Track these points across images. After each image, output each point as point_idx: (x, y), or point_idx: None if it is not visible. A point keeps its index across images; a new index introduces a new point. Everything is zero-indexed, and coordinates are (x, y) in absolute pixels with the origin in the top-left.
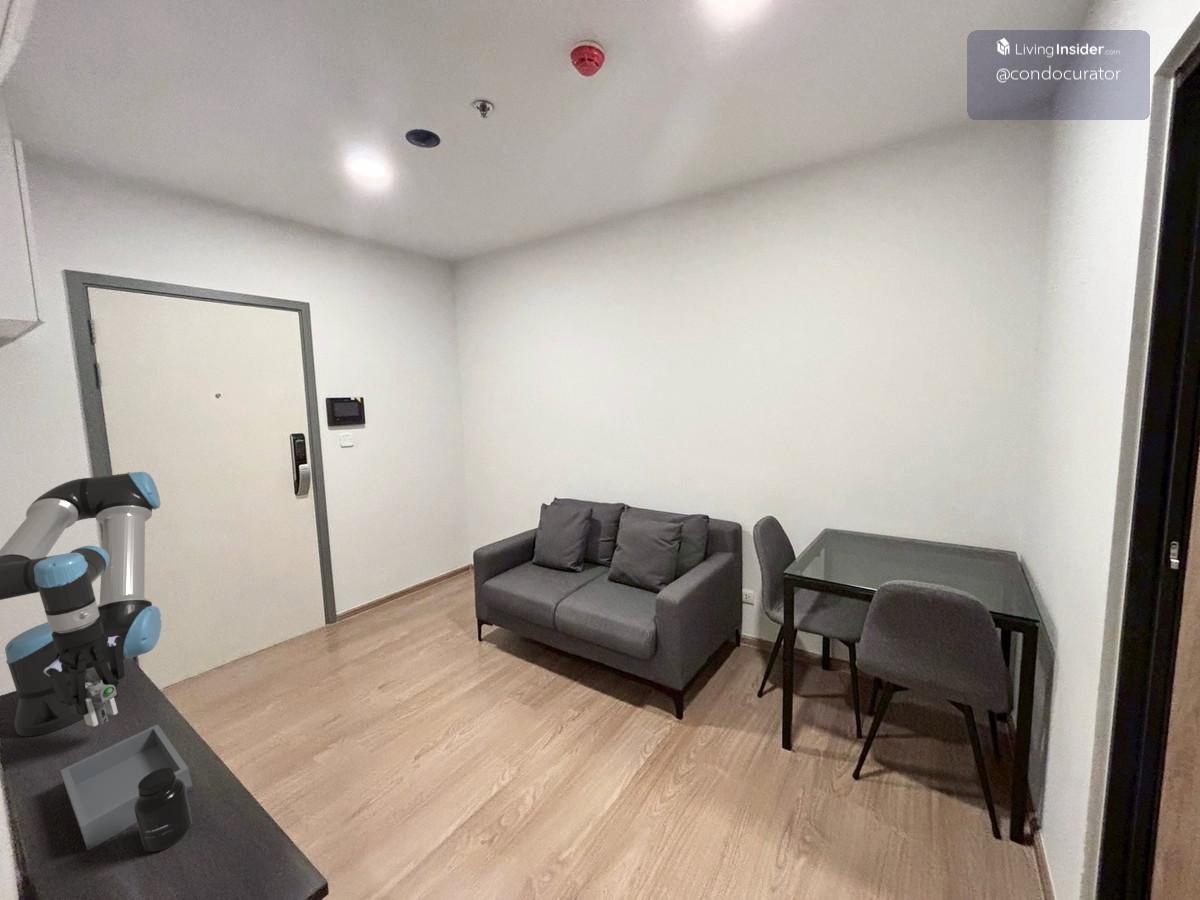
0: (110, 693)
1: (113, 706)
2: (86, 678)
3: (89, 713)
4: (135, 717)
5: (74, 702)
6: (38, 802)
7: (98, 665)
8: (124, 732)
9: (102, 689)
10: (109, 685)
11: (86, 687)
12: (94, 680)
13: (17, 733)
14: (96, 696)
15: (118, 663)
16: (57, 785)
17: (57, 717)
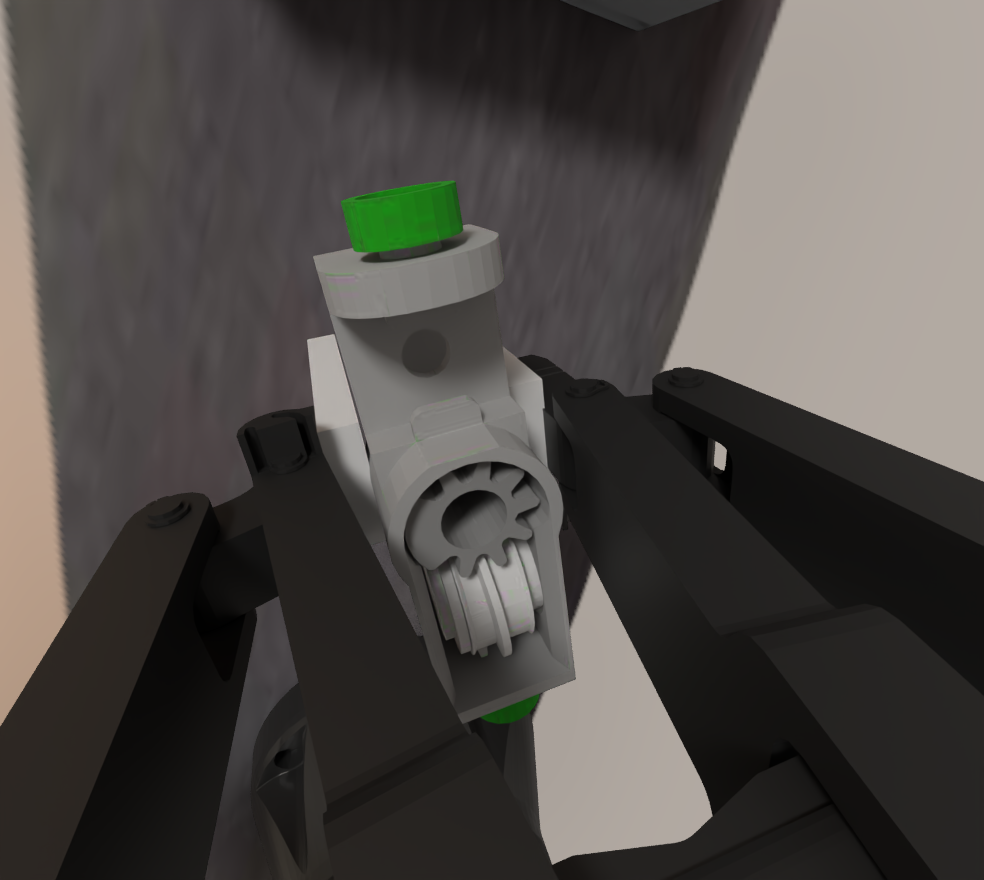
0: (397, 191)
1: (328, 355)
2: (457, 712)
3: None
4: (205, 436)
5: (656, 379)
6: (707, 99)
7: (452, 723)
8: (291, 329)
9: (478, 254)
10: (388, 263)
11: (527, 530)
12: (427, 616)
13: None
14: (497, 319)
15: (108, 681)
16: (624, 157)
17: None
